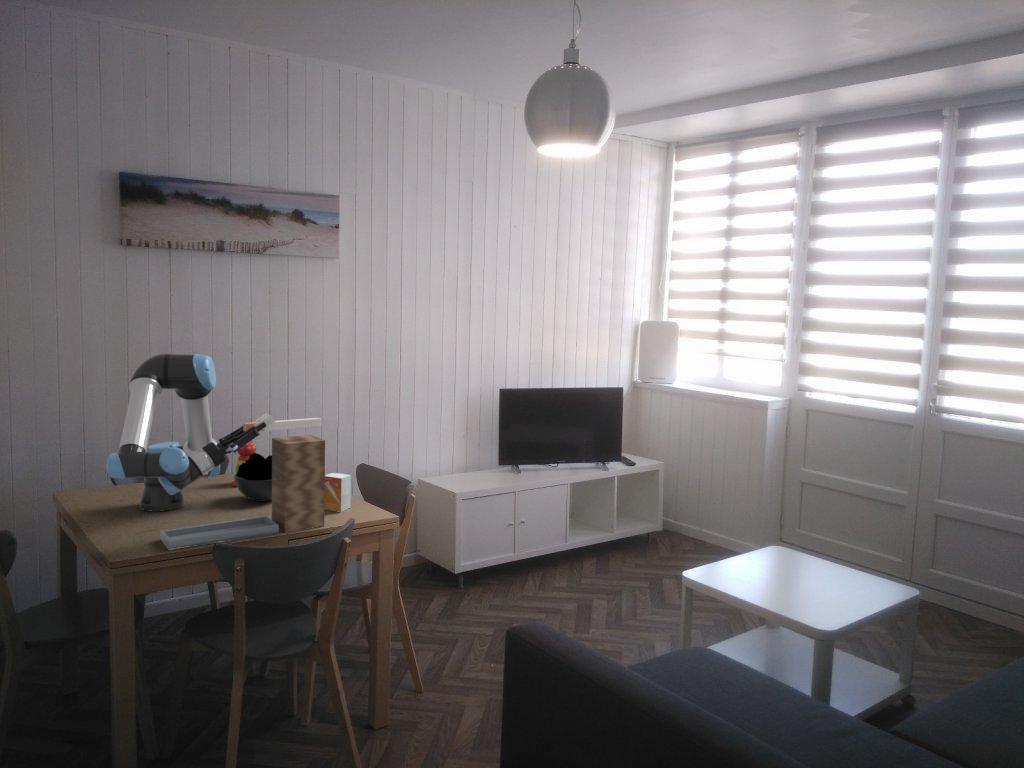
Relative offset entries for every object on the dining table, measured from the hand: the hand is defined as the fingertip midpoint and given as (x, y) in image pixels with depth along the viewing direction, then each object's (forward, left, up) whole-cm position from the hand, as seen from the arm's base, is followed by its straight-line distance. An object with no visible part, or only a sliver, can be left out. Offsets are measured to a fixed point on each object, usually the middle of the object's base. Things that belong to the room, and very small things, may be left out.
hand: (270, 417), depth 254 cm
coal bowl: (0, +39, -38) cm, 55 cm away
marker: (+4, +1, -4) cm, 6 cm away
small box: (+25, +19, -39) cm, 50 cm away
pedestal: (+9, +3, -38) cm, 39 cm away
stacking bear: (-4, +66, -39) cm, 76 cm away
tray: (-16, -4, -38) cm, 42 cm away
